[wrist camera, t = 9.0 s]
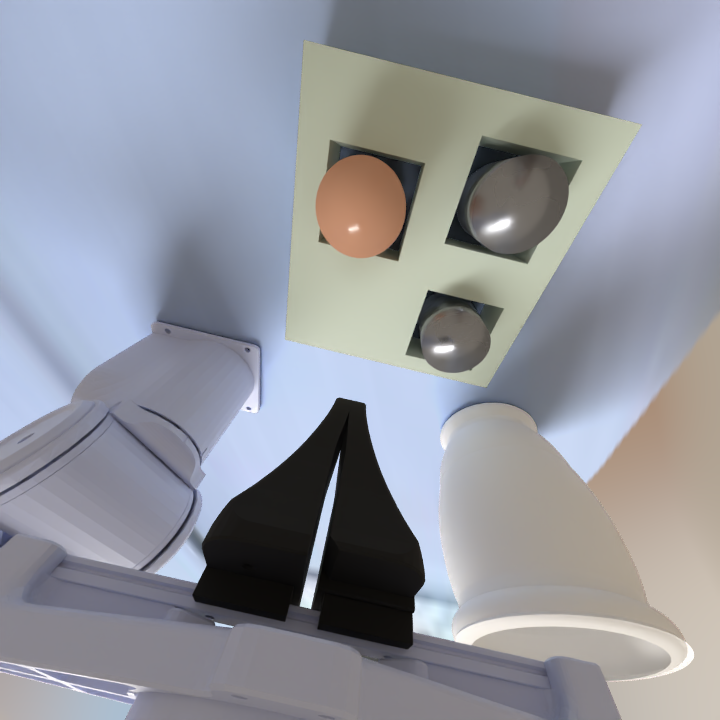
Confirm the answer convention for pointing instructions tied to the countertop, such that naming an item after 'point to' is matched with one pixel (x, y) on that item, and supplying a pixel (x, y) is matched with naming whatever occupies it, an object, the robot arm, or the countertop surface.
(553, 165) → the grey plug
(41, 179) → the countertop surface
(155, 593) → the robot arm
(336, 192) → the terracotta plug
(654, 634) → the jar
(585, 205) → the socket board
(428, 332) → the grey plug
